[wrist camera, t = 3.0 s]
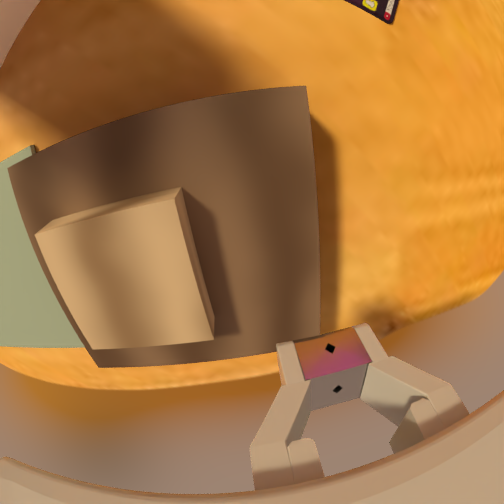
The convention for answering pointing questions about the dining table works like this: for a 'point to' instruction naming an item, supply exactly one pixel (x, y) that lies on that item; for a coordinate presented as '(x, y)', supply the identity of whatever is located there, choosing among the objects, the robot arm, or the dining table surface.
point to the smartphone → (378, 8)
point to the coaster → (131, 272)
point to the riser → (204, 210)
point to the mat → (26, 280)
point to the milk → (13, 22)
